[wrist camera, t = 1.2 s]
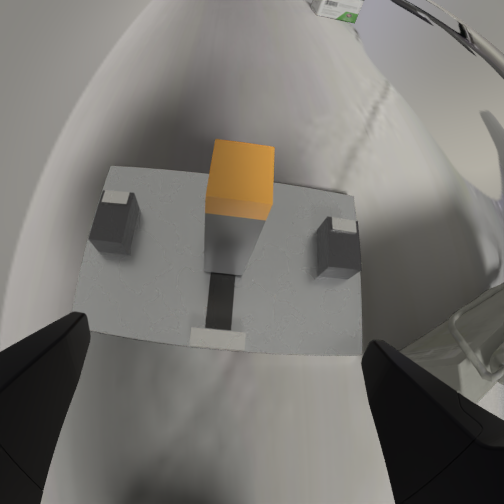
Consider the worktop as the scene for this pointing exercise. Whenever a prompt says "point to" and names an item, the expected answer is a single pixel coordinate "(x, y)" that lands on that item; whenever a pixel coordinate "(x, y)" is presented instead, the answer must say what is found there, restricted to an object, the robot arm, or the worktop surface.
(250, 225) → the lever
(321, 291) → the breaker panel
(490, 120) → the worktop surface
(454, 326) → the geiger counter
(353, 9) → the ink box
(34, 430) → the robot arm
